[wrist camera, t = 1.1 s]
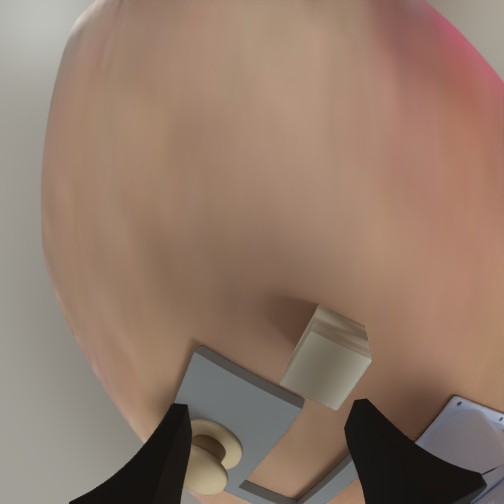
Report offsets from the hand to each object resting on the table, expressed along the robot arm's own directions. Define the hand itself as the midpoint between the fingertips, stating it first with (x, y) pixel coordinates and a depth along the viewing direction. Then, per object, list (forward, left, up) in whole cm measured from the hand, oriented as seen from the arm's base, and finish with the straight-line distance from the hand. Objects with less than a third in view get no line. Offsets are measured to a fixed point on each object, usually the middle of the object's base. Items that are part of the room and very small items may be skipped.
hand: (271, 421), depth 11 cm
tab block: (-2, -1, -11) cm, 11 cm away
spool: (+2, +14, -10) cm, 17 cm away
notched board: (-2, +13, -11) cm, 18 cm away
